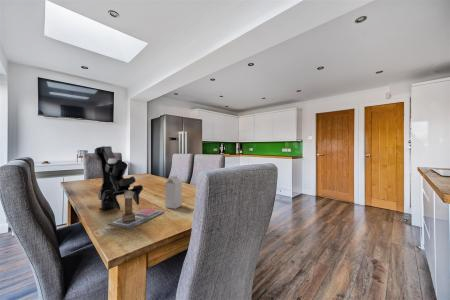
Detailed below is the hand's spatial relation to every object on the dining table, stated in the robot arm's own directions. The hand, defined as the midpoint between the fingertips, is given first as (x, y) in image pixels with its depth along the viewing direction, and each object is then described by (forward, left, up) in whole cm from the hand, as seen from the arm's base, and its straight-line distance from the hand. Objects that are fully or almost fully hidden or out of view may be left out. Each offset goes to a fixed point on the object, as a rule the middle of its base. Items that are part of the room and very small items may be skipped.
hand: (129, 206), depth 92 cm
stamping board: (+1, +5, -7) cm, 9 cm away
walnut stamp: (-1, 0, -7) cm, 7 cm away
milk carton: (+6, +28, -8) cm, 29 cm away
